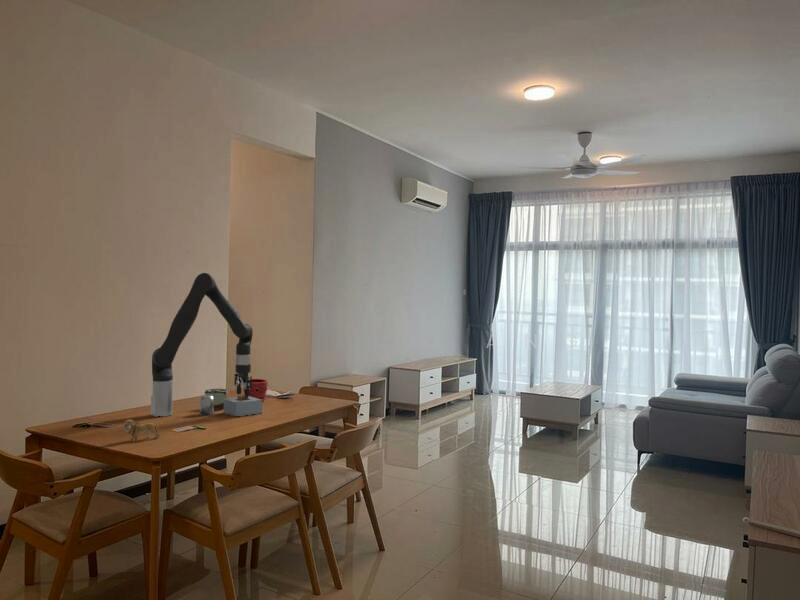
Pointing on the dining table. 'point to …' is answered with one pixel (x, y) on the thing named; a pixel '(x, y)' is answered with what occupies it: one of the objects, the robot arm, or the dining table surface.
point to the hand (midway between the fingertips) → (242, 395)
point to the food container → (217, 397)
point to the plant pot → (260, 391)
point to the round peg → (206, 404)
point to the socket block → (242, 406)
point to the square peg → (242, 397)
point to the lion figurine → (140, 429)
